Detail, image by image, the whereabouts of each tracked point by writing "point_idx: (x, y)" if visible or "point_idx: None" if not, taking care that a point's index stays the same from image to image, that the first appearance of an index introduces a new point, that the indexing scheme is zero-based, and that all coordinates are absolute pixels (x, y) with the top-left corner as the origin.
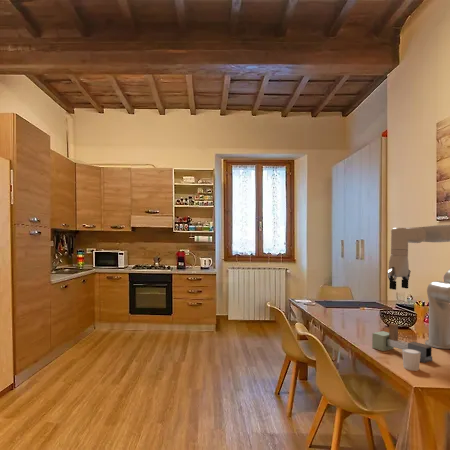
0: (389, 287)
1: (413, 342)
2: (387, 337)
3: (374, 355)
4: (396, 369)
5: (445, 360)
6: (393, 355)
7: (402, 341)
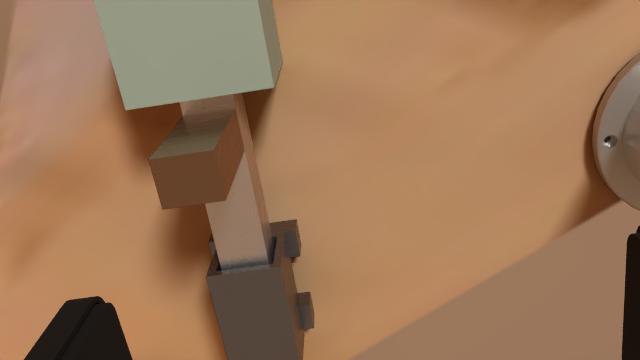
0: (59, 311)
1: (258, 279)
2: None
3: (32, 129)
4: (3, 340)
5: (392, 333)
6: None
7: (240, 198)
